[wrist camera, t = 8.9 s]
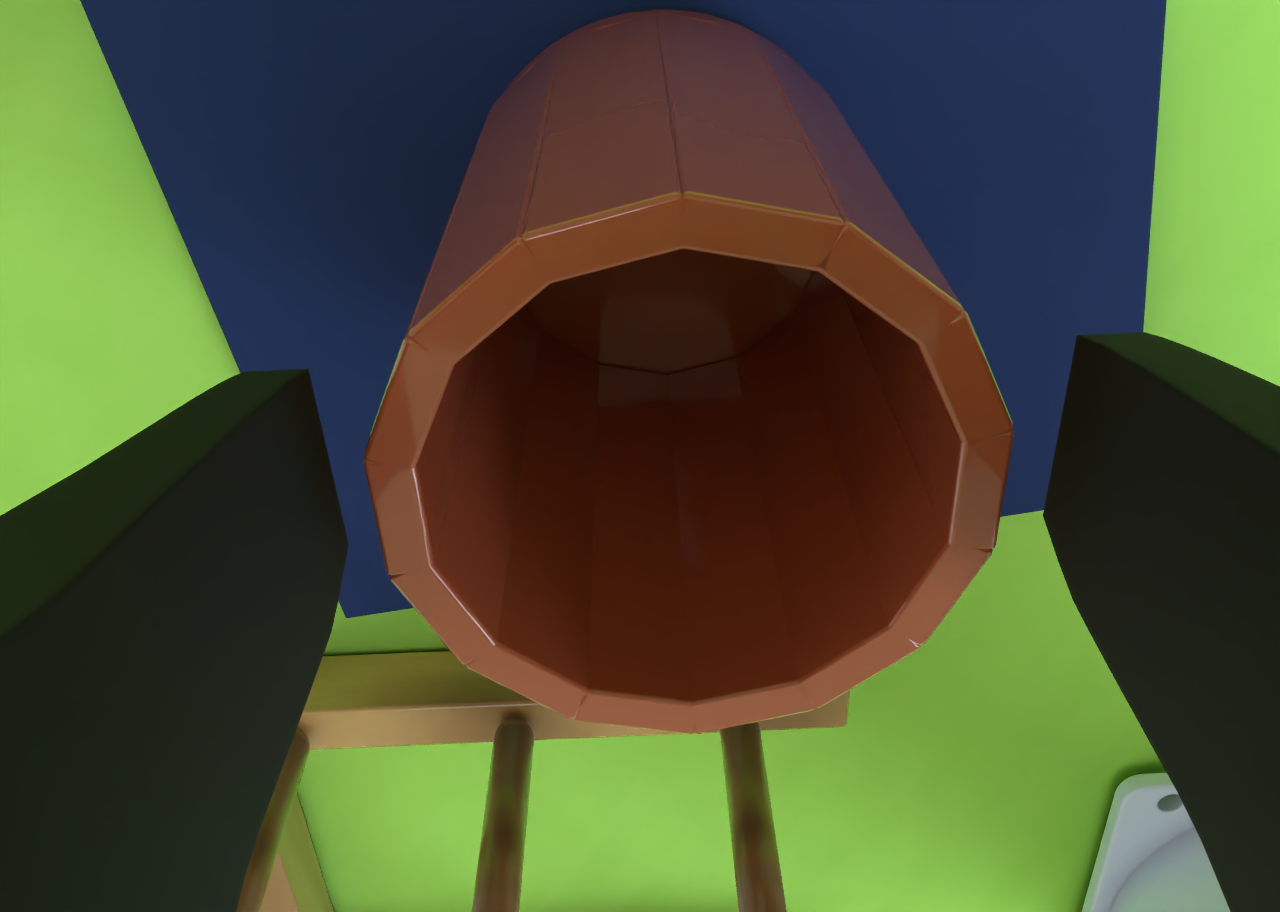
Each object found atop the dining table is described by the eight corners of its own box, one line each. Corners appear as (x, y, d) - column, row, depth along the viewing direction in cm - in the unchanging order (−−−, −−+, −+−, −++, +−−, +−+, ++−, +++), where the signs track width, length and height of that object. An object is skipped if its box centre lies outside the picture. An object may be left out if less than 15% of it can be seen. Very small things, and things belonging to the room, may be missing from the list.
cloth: (1188, -471, 12) (1200, -476, 12) (1125, 487, 19) (1132, 497, 19) (4, -203, 13) (-9, -203, 13) (348, 608, 20) (346, 618, 20)
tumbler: (863, -7, 14) (1059, 176, 8) (840, 373, 17) (967, 724, 11) (445, 13, 14) (309, 210, 8) (493, 388, 17) (421, 747, 11)
